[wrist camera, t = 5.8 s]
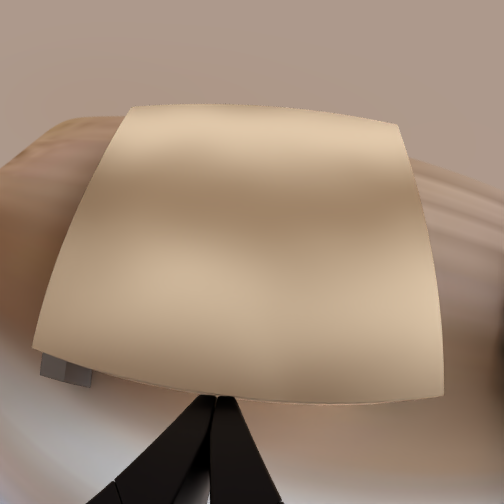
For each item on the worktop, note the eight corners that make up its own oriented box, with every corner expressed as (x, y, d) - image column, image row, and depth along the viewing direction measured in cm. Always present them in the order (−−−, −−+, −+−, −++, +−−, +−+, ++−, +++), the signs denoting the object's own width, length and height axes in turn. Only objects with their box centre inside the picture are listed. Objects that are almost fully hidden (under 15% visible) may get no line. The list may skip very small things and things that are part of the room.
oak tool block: (355, 405, 13) (443, 395, 6) (126, 379, 13) (31, 348, 7) (353, 224, 17) (397, 124, 11) (167, 208, 18) (131, 106, 11)
